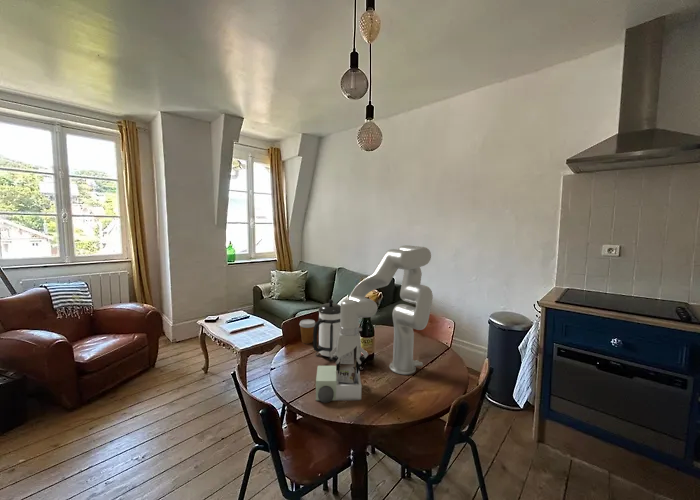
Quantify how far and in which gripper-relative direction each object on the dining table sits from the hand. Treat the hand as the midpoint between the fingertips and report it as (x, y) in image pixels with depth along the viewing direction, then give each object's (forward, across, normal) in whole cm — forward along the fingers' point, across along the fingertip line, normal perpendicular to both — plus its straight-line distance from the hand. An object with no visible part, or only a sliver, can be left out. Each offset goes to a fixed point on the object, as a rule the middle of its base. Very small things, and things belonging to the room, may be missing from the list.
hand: (348, 371), depth 128 cm
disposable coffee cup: (+9, +22, -54) cm, 59 cm away
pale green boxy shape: (+8, +4, 0) cm, 10 cm away
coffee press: (+9, +8, -34) cm, 36 cm away
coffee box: (+3, 0, 0) cm, 4 cm away
